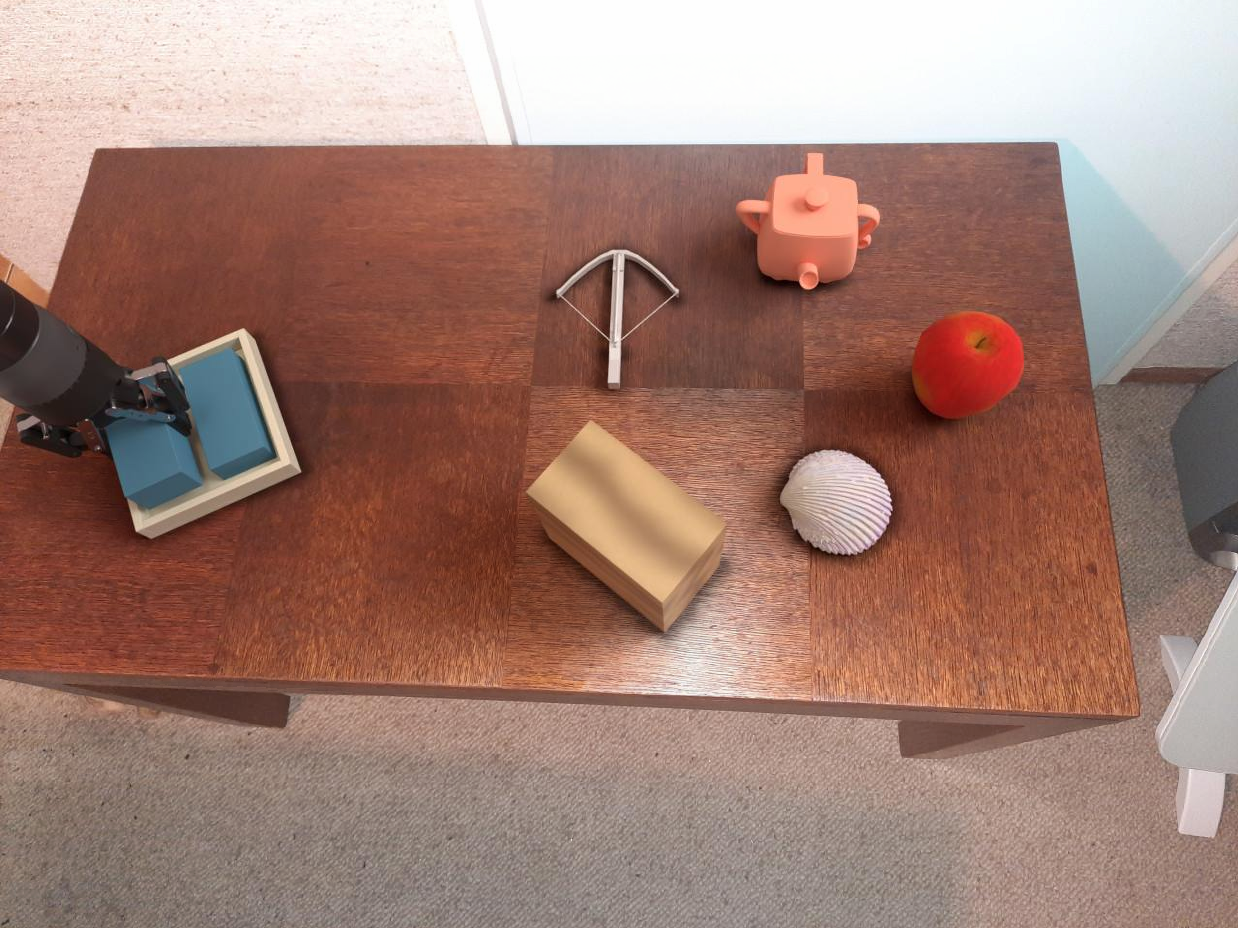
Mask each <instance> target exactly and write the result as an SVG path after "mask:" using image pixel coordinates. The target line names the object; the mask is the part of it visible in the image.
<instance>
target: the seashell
mask: <svg viewBox="0 0 1238 928" xmlns="http://www.w3.org/2000/svg"><path fill="white" fill-rule="evenodd" d="M788 478H789V479H788V481H787V482H786V484H785V486H784V487H783V489H782V491H781V493H780V496H779V500H780V504H781V506H782V507H784V508H785V509H786V510H787V512H788V514H789V515H790V518H791V523H792V528H793V530H794V531H796V530H797V531H798V533H799V535H800V537H801V539H802V540H803V541H804V542H805V543H807V542H809V543H811V545H812V547H814V548H815V549H816V548H819V549H820V550H821V552H826V553H828V554H831V553H832V554H834V555H836V556H837V555H838V554H840V555H842V556H844V555H847V556H851V555H854V556H857V555H858V554H862V553H863V552H864V550H869V549H870V547H871V546H873V545H875V544H876V543H877V540H879V539H881V537H882V535H883V534H884V532H886V530H887V525H889V524H890V516H892V513H891V512H893V506H892V505H891V503H892V501H893V500H892V499H891V497H890V496H891V493H890V491H889V487H888V485H887V484H886V482H885V480H884V479H883V478H882V475H881V474H880V473H879V472H877V470H876V469H875V468H873V467H872V465H871V464H869V463H866V461H865V460H864V459H861V458H859V457H858V456H855V455H853V454H852V453H851V452H846V451H844V450H843V451H841V450H840V449H837V450H834V449H830V450H829V449H828V450H827V449H824V450H823V449H822V450H820V451H814V452H813V453H809V454H808V455H806V456H803V458H802V459H798V462H797V463H796V464H794V466H793V467H792V470H791V472H790V473H789V476H788Z"/></svg>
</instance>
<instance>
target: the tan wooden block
mask: <svg viewBox="0 0 1238 928" xmlns="http://www.w3.org/2000/svg"><path fill="white" fill-rule="evenodd" d="M525 494H526V497H527V498H528V500H529V502H530V505H531V506H532V508H533V509H534V511H535V513H536V515H537V517H538V519H539V521H540V522H541V525H542V527H543V528H544V531H545V533H546V534H547V536H548V538H549V539H550V541H552V542H553V543H554V544H556V545H557V546H558V547H559V548H561V549H562V550H563V551H564V552H566V553H567V554H568V555H569V556H570V557H571V558H573V559H574V560H575V561H576V562H578V564H580V565H581V566H582V567H583V568H585V569H586V570H587V571H588V572H590V573H592V575H593V576H595V578H597V579H598V580H599V581H601V582H602V583H603V584H604V585H606V586H607V587H608V588H609V589H611V591H613V592H614V593H615V594H616V595H617V596H618V597H620V598H621V599H623V600H624V601H625V603H627V604H628V605H630V606H631V607H632V608H633V609H635V610H636V611H637V612H638V613H639V614H640V615H642V616H643V617H644V618H646V619H647V620H648V621H649V622H650V623H652V624H653V625H654V626H655V627H657V629H659V630H660V631H662V632H663V633H666V632H667V631H668V630H669V629H670V628H671V626H672V625H673V624H674V623H675V621H676V620H677V619H678V618H679V616H680V615H681V614H682V612H684V610H685V609H686V608H687V607H688V606H689V604H690V603H691V602H692V600H693V599H694V598H695V597H696V595H697V594H698V593H699V592H700V591H701V589H702V588H703V587H704V586H705V584H707V582H708V581H709V579H710V578H711V577H712V576H713V575H714V573H715V572H716V571H717V570H718V568H719V567H720V564H721V559H722V553H723V550H724V549H723V548H724V543H725V538H726V533H727V528H728V523H727V522H726V521H725V520H724V519H723V518H722V517H720V516H718V515H717V514H716V513H715V512H713V511H712V510H711V509H709V508H708V507H707V506H705V505H704V504H703V503H701V502H700V501H699V500H698V499H696V498H695V497H694V496H693V495H691V494H690V493H688V492H687V491H686V490H684V489H683V488H682V487H681V486H679V485H678V484H676V483H675V482H673V481H672V480H671V479H670V478H668V477H667V476H666V475H664V473H662V472H660V471H659V470H658V469H657V468H655V467H654V466H653V465H651V464H650V463H648V462H647V461H646V460H645V459H643V458H642V457H641V456H639V454H637V453H636V452H634V451H633V450H632V449H631V448H629V447H628V446H627V445H625V444H624V443H623V442H621V441H620V440H618V439H617V437H614V436H613V435H612V434H611V433H609V432H608V431H606V430H605V429H604V428H602V427H601V425H599V424H598V423H596V422H595V421H594V420H592V419H590V420H588V421H587V423H585V425H584V426H583V427H582V429H580V430H579V431H578V433H577V434H576V435H575V436H574V437H573V438H572V440H571V441H570V442H569V443H568V444H567V445H566V446H565V447H564V448H563V449H562V451H560V453H559V454H558V455H557V456H556V457H555V458H554V459H553V460H552V462H551V463H550V464H549V465H548V466H547V467H546V468H545V470H543V472H541V474H540V475H539V476H538V477H537V478H536V479H535V480H534V482H532V484H531V485H529V487H528V488H527V489H526V491H525Z"/></svg>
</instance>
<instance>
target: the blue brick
mask: <svg viewBox="0 0 1238 928" xmlns="http://www.w3.org/2000/svg"><path fill="white" fill-rule="evenodd" d="M179 371H180V375H181V378H182V381H183V384H184V388H185V391H186V394H187V397H188V401H189V404H190V407H191V410H192V414H193V417H194V420H195V423H196V427H197V430H198V433H199V436H200V440H201V443H202V446H203V449H204V453H205V456H206V459H207V463H208V466H209V469H210V470H211V471H212V472H214V473H215V474H217V475H218V476H220V477H221V478H223V479H224V480H227V479H229V478H231V477H233V476H236V475H238V474H240V473H242V472H245V471H247V470H249V469H252V468H254V467H256V466H258V465H261V464H263V463H265V462H267V461H270V460H272V459H274V458H277V455H276V452H275V449H274V446H273V443H272V440H271V437H270V435H269V432H268V429H267V426H266V423H265V420H264V417H263V414H262V411H261V408H260V405H259V402H258V399H257V396H256V393H255V390H254V388H253V385H252V382H251V379H250V376H249V373H248V370H247V367H246V364H245V361H244V360H243V359H242V358H241V357H240V356H239V355H238V354H237V353H236V352H235V351H234V350H233V349H232V348H228V349H225V350H223V351H221V352H218V353H216V354H214V355H211V356H209V357H207V358H204V359H202V360H200V361H197V362H195V363H193V364H190V365H188V366H186V367H183V368H181V369H179Z"/></svg>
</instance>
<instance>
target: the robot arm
mask: <svg viewBox="0 0 1238 928" xmlns="http://www.w3.org/2000/svg"><path fill="white" fill-rule="evenodd" d="M167 360H168V359H167V358H166V357H165V356H162V355H157V356H154V357H153V358H151V360H150V364H151V365H150V366H148V367H144V368H140V369H137V370H134V369H133V368H131V367H127V366H123V365H119V364H117V363H116V361H115V360H114V359H112V357H111V356H110V355H109V354H108V353H106V352H105V351H104V350H103V349H101V348H100V347H98V346H97V345H96V344H95V343H94V342H92V341H90V340H89V339H88V338H86V337H85V336H84V335H83V334H81V333H80V332H78V331H77V330H76V329H75V328H74V326H72V325H71V324H69V323H66V321H64V320H63V319H61V318H60V317H59V316H57V315H56V314H54V312H51V311H50V310H49V309H47V308H45V307H43V306H41V305H39V304H37V303H35V302H33V300H30V299H29V298H28V297H26V296H25V295H24V294H22V293H20V291H18V290H17V289H15V288H14V287H13V286H12V285H10V284H9V283H8V282H6V281H4V279H2V278H0V398H1V400H2V399H3V400H4V401H6V402H8V403H9V404H11V405H13V406H14V407H17V408H18V409H20V410H21V411H23V412H24V413H23V412H22V413H19V414H17V415H16V416H15V417H14V418H15V419H14V420H15V422H16V427H17V432H18V437H19V441H20V443H21V444H24V445H28V446H30V447H34V448H37V449H39V450H40V449H41V450H43V451H47V452H49V453H53V454H56V455H59V456H63V457H65V458H70V459H77V458H80V457H81V456H83V452H87V451H90V452H91V453H95V454H97V453H100V454H101V455H103V456H105V457H107V458H109V459H110V460H112V461H114V459H113V455H112V452H111V448H110V445H109V441H108V438H107V434H106V431H105V428H104V427H106V426H108V425H110V424H111V423H113V422H115V421H117V420H121V419H124V418H131V419H135V420H140V421H144V422H146V421H148V420H149V419H153V420H157V421H162V422H166V424H167V425H169V426H170V427H172V428H173V429H175V430H176V431H177V432H179V433H180V434H182V435H183V436H184V437H187V436H189V435H191V432H190V429H192V425H191V422H190V418H189V415H188V413H186V412H185V411H187V410H189V409H190V405H189V402H188V400H187V397H186V393H185V388H184V385H183V384H182V382H181V381H180V379H179V378H178V376H177V375H176V373H175V372H174V370H173V369H172V367H171V366H170V364H169V363H168V361H167ZM145 384H147V385H150V386H151V387H154V388H155V389H156V391H157V392H156V391H152V390H151V389H150V388H149V387H148V386H147V385H145ZM161 391H163V392H164V394H163V393H160V392H161ZM154 404H156V405H157V407H155V406H154ZM74 428H75V429H74ZM76 429H78V430H79V431H77V430H76Z"/></svg>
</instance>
